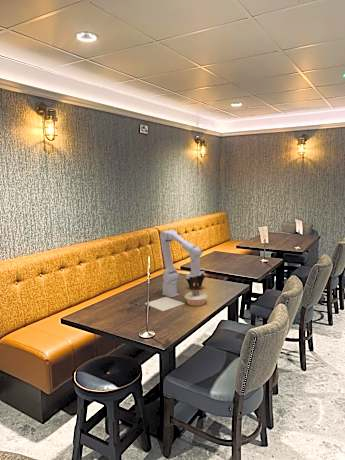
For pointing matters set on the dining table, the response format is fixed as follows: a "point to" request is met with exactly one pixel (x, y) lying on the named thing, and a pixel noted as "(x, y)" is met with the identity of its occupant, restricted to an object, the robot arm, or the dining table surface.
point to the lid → (195, 295)
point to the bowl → (196, 302)
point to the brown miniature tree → (195, 283)
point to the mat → (164, 303)
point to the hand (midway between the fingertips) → (195, 287)
